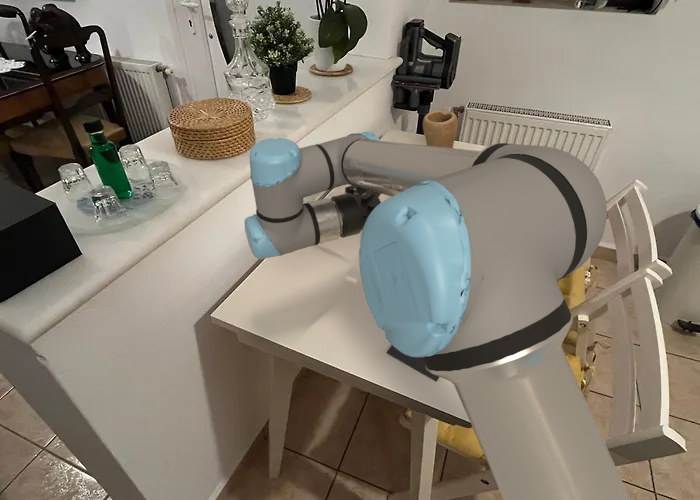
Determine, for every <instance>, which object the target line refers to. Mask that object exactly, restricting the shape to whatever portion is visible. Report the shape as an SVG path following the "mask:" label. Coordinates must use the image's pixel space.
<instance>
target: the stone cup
mask: <svg viewBox="0 0 700 500" xmlns="http://www.w3.org/2000/svg"><path fill="white" fill-rule="evenodd" d="M458 119H459V118H458V117H457V115H456V114H455V112H453V111H446V110H443V109H439V110H434V111H431V112H430V111H429V112H428V113H426V114H425V115H424V117H423V120H422V130H423V135H424V138H425V141H426V146H435V147H445V148H454V144H455V140H456V137H457V135H458V130H459V120H458Z"/></svg>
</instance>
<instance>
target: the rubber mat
mask: <svg viewBox="0 0 700 500" xmlns="http://www.w3.org/2000/svg"><path fill="white" fill-rule="evenodd" d="M386 354H387V355H389V356H391V357H393V358H394V359H396V360H397V361H399V362H401V363H403V364H405V365H406V366H408V367H410V368H412V369H413V370H415V371H417V372H418V373H420V374H422V375H424V376H425V377H428V378H429V379H431V380H433V381H434V382H438V380H439V378H440V377H439V376H436V375H434V374H432V373H430V372H428V371H427V369H426V367H425V365H424V362H423V360H422V358H421V357H411V356H408V355H405V354H403V353H401V352H400V351H399V350H398V349H396V348H395V347H394V346H393V345H392V344H391V346H390V347H389V349H388V350H387V351H386Z"/></svg>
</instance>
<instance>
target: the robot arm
mask: <svg viewBox="0 0 700 500" xmlns="http://www.w3.org/2000/svg"><path fill="white" fill-rule="evenodd" d="M249 169H250V180H251V184H252V190H253V196H254V202H255V208H256V210H255V213H254V214H252V215H250V216H247V217H245V219H244V223H243V224H244V231H245V236H246V239H247V243H248V246H249V248H250V251H251V254H252V255H253V256H254V258H256V259H258V260H265V259H270V258H275V257H282V256H285V255H287V254H290V253H293V252H296V251H299V250H303V249H308V248H309V247H314V246H318V245H321V244H324V243H325V244H326V243H329V242H332V241H336V240H339V238H342V239H345V238H347V237H352V236H356V235H358V234H360V243H359V245H360V246H359V249H358V263H359V264H358V265H359V274H360V280H361V286H362V289H363V293H364V297H365V300H366V304H367V306H368V308H369V310H370V313H371V315H372V319H373V320H374V322H375V324H376V326H377V327H378V329H380V330H382V331H384V333H385V334H384V335H385V338H386V340H387V341H388V342H389V343H390V344H391V346H392V345H393V346H394V347H395V348H396V349H398V350H399V351H400V352H401V353H403V354H405V355H408V356H411V357H421V358H422V360H423V362H424V365H425V367H426V369H427V371H428V372H430V373H432V374H434V375H436V376H439V378H441V379H444V380H446V381H448V382H450V383H451V384H453V386H454V388H455V390H456V392H457V393H456V394H457V396H458V397H459V400H460V402H461V405H462V406H463V409H464V411H465V414H466V417H467V418H468V420H469V422H470V423H469V424H470V425H471V427H472V430H473V432H474V434H475V437H476V440H477V442H478V444H479V446H480V449H481V450H482V453H483V455H484V457H485V460H486V463H487V465H488V467H489V469H490V472H491V474H492V476H493V478H494V481H495V483H496V486H497V487H498V489H499V492H500V495H501V497H502V499H503V500H631V498H630V495H629V493H628V491H627V489H626V487H625V484H624V482H623V480H622V478H621V476H620V473H619V471H618V469H617V467H616V463H615V462H614V460H613V458H612V456H611V453H610V451H609V449H608V447H607V444H606V442H605V440H604V438H603V435H602V433H601V431H600V429H599V426H598V424H597V422H596V420H595V417H594V416H593V412H592V410H591V409H590V406H589V404H588V402H587V400H586V397H585V395H584V393H583V391H582V388H581V387H580V385H579V382H578V379H577V378H576V375H575V373H574V371H573V369H572V366H571V364H570V362H569V359H568V358H567V355H566V353H565V351H564V349H563V342H564V340H565V338H566V336H567V334H568V333H569V331H570V328H571V327H572V324H573V321H574V318H573V315H572V313H571V311H570V308H569V307H568V304H567V302H566V300H565V298H564V294H563V293H562V291H561V289H560V287H559V285H558V282H559V281H560V280H562V279H564V278H566V277H567V276H571V274H573V273H574V272H576V271H577V270H579V269H580V268H581V267H583V265H584V264H585V263H586V262H587V261H588V260H589V259H590V257H591V256H592V255H594V253H596V250H597V248H598V246H599V244H600V243H601V241H602V239H603V236H604V233H605V229H606V225H607V220H608V210H607V208H608V207H607V200H606V196H605V195H606V194H605V193H604V190H603V188H602V184H601V183H600V181H599V178H598V177H597V176H596V175H595V173H594V172H593V171H592V170H591V168H590V167H589V165H587V164H586V163H584V162H583V161H582V160H581V159H579V158H578V157H576V156H575V155H573V154H572V153H569V152H568V151H566V150H565V151H564V150H562V149H560V148H557V147H552V146H551V147H550V146H546V145H545V146H544V145H534V144H533V145H532V144H516V143H508V142H507V143H505V142H497V143H493V144H490V145H487V146H486V147H485V148H483V149H482V150H474V149H473V150H472V149H464V148H455V147H453V148H445V147H435V146H427V145H425V144H424V145H423V144H414V143H405V142H394V141H385V140H381V139H380V138H379V137H378V136H376V135H375V133H373V132H370V131H363V132H356V133H350V134H348V135H346V136H342V137H338V138H336V139H332V140H328V141H324V142H320V143H316V144H310V145H307V146H304V147H299V145H298V144H297V143H296V142H295V141H293V140H291V139H289V138H285V137H284V138H283V137H278V138H273V137H271V138H265V139H263V140H259V141H258V142H256V143H255V144H254V145H253V146H252V147H251V149H250V151H249ZM346 185H349V186H346ZM343 186H346V187H344V193H342V194H337V195H333V196H332V197H331V198H329V197H325V198H320V199H316V200H313V201H309V202H305V203H304V198H308V197H311V196H314V195H317V194H320V193H323V192H326V191H330V190H333V189H335V188H339V187H343ZM364 193H365V194H364ZM381 194H384V195H388V196H391V197H390V198H388V199H386V200H384V201H383V202H381V201H380V199H379V198H378V197H379V196H380V195H381Z"/></svg>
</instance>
